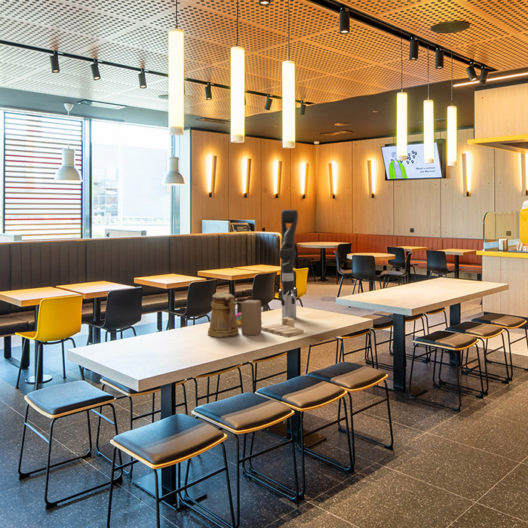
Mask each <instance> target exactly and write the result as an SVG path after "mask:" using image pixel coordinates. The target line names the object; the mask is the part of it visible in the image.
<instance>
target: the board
mask: <svg viewBox="0 0 528 528" xmlns="http://www.w3.org/2000/svg"><path fill="white" fill-rule="evenodd" d="M261 331H264V332H268V333H270V332H271V334H274V333H276V334H275V335H278V334H280V335H279V336H282V335H283V336H282V337H285V336H288V337H292V335H293V336H297V335H301V333H302V334H304V333H305V331H304V329H302V328H297V327H290V326H286V325H282V323H275V324H270V325H264V326H261ZM296 334H297V335H296Z"/></svg>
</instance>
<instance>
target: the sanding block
mask: <svg viewBox="0 0 528 528" xmlns="http://www.w3.org/2000/svg"><path fill="white" fill-rule="evenodd" d="M281 325H286V326H290V327H294V328H296V327H295V319H293V318H289V317H285V318H283V317H281Z"/></svg>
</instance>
